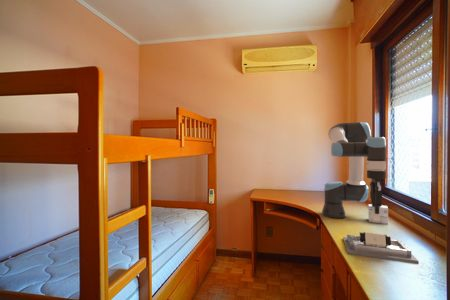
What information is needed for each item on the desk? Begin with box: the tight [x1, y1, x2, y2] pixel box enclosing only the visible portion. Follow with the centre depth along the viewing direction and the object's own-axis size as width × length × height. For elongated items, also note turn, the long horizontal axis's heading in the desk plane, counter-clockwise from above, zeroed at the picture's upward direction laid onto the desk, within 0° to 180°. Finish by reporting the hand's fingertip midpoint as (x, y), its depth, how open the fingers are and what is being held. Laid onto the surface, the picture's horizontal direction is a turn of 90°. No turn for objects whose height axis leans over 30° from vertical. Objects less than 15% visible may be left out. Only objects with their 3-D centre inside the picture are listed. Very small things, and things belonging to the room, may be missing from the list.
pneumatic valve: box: [359, 231, 392, 247], centre depth 109 cm, size 6×12×12 cm
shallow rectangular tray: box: [346, 234, 412, 257], centre depth 111 cm, size 12×23×2 cm, turn 70°
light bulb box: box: [368, 203, 389, 225], centre depth 153 cm, size 11×7×11 cm, turn 60°
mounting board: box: [342, 236, 420, 264], centre depth 111 cm, size 19×26×1 cm
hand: (376, 220), depth 111 cm, fingers closed
